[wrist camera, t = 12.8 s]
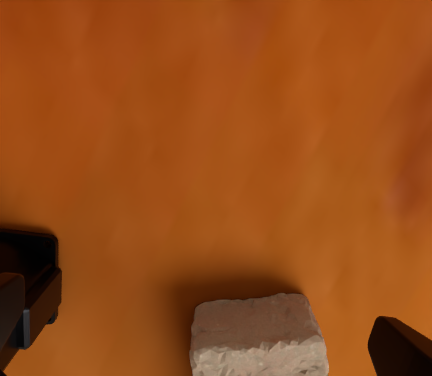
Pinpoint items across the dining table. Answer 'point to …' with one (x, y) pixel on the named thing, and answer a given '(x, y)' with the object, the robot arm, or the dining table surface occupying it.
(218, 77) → the dining table surface
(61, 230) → the dining table surface
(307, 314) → the brick
